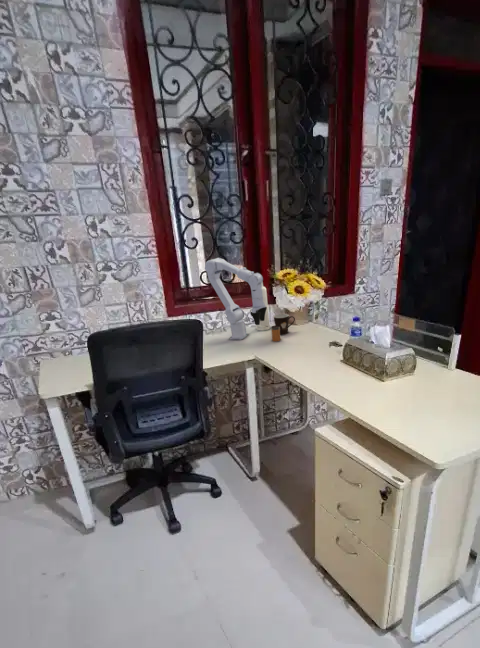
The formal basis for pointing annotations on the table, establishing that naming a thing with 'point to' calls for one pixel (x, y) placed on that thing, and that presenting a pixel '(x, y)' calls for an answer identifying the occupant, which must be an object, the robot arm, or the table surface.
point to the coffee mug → (283, 322)
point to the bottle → (265, 324)
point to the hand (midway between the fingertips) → (259, 322)
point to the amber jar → (275, 333)
